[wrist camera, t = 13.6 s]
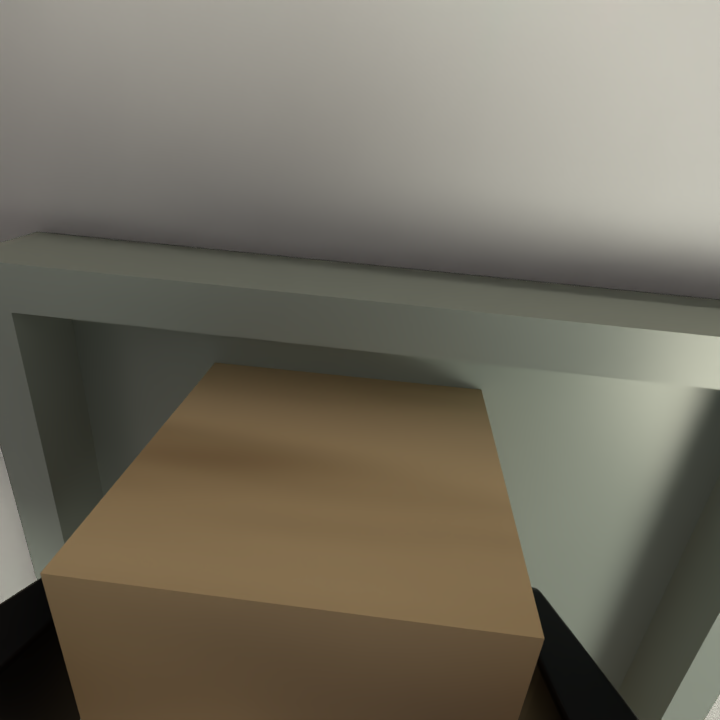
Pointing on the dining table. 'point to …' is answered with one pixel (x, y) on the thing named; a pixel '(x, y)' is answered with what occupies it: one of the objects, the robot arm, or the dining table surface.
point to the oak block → (302, 561)
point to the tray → (416, 365)
